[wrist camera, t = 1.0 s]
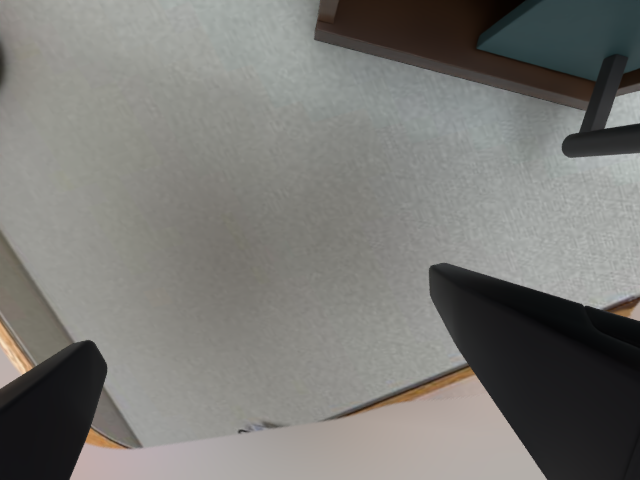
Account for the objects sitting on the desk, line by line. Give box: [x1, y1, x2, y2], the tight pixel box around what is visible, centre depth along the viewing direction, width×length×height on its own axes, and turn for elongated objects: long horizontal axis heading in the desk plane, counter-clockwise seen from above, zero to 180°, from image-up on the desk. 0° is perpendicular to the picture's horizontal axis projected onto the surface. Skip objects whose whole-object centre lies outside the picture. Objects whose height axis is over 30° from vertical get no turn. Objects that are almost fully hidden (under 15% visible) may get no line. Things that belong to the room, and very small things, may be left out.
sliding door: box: [476, 0, 640, 158], centre depth 16 cm, size 6×9×11 cm
